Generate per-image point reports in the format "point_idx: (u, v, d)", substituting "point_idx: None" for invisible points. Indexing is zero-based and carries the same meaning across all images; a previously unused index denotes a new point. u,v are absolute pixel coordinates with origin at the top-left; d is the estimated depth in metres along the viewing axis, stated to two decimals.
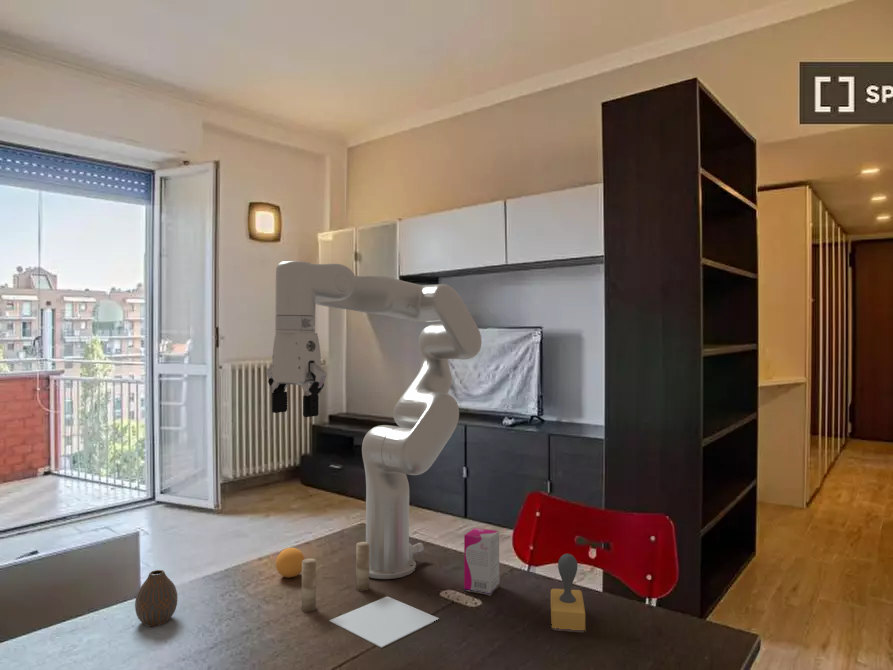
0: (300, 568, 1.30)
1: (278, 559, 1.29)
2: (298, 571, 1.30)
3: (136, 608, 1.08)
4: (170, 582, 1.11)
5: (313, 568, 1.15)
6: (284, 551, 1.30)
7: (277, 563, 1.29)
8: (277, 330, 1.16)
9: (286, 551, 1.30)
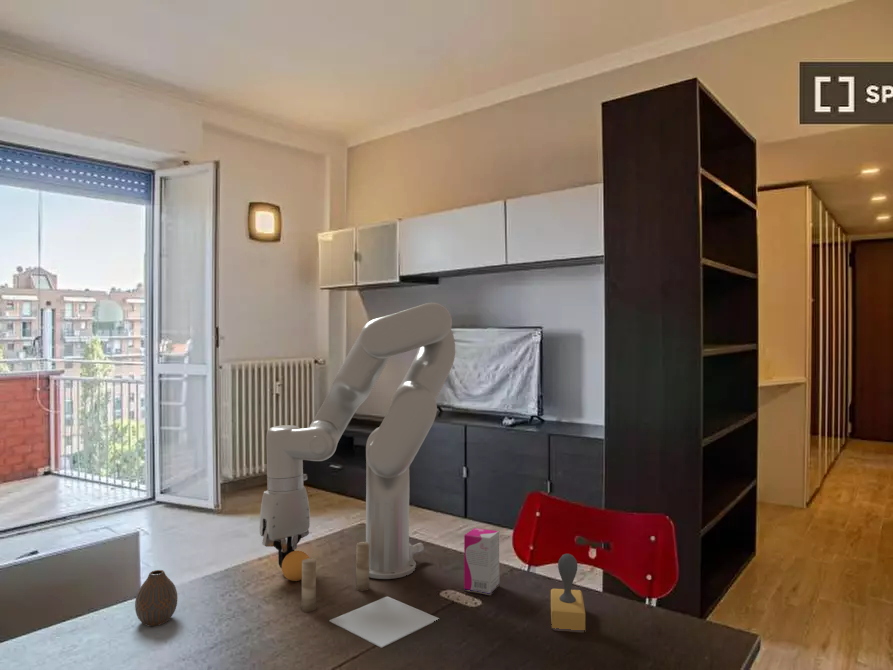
0: None
1: (286, 564, 1.27)
2: None
3: (136, 608, 1.08)
4: (170, 582, 1.11)
5: (313, 568, 1.15)
6: (294, 558, 1.27)
7: (284, 567, 1.27)
8: (291, 491, 1.30)
9: (295, 559, 1.27)
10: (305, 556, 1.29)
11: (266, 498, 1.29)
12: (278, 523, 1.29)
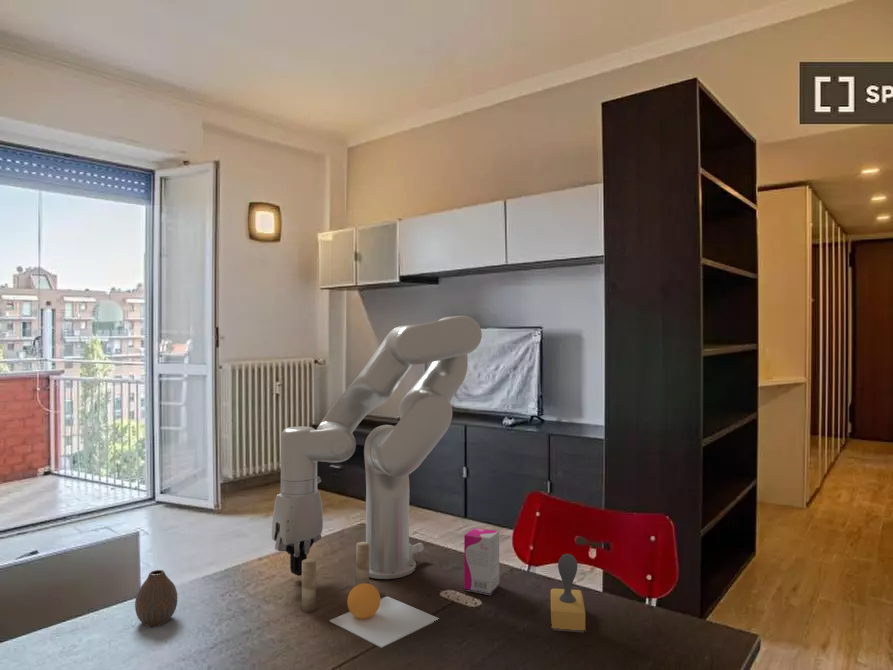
0: None
1: (355, 610, 1.10)
2: None
3: (136, 608, 1.08)
4: (170, 582, 1.11)
5: (313, 568, 1.15)
6: (364, 615, 1.10)
7: (351, 607, 1.10)
8: (306, 494, 1.26)
9: (364, 617, 1.10)
10: (375, 612, 1.11)
11: (280, 501, 1.26)
12: (292, 527, 1.25)
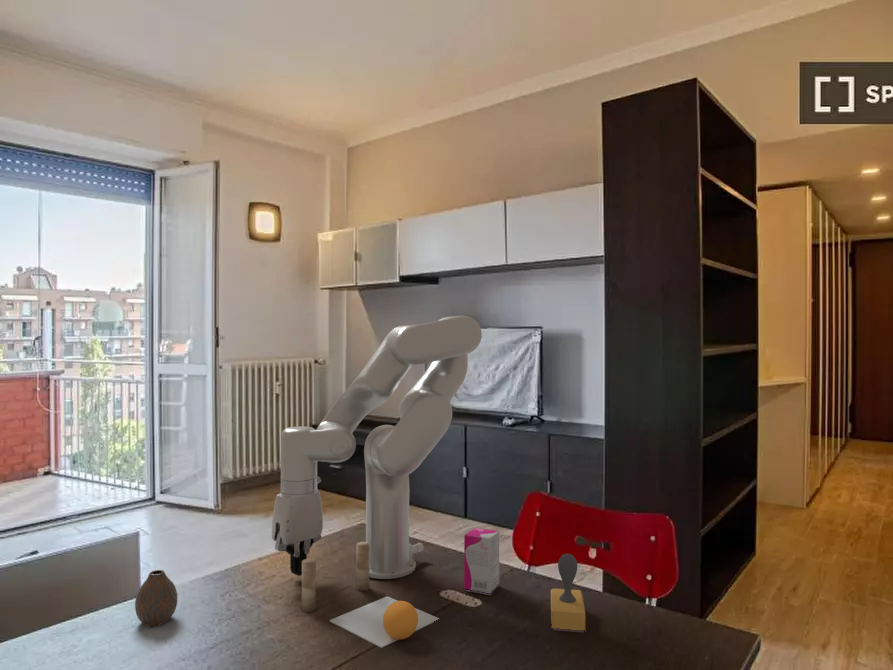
0: (414, 619, 1.03)
1: (385, 617, 1.03)
2: (413, 623, 1.03)
3: (136, 608, 1.08)
4: (170, 582, 1.11)
5: (313, 568, 1.15)
6: (389, 606, 1.05)
7: (385, 622, 1.03)
8: (306, 494, 1.26)
9: (391, 605, 1.05)
10: None
11: (280, 501, 1.26)
12: (292, 527, 1.25)
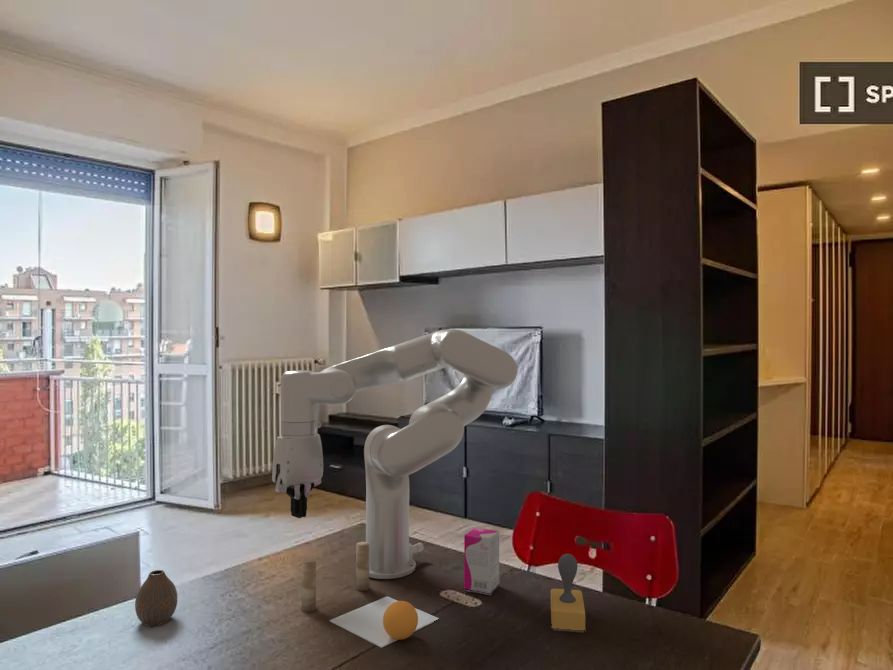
0: (414, 619, 1.03)
1: (385, 617, 1.03)
2: (413, 623, 1.03)
3: (136, 608, 1.08)
4: (170, 582, 1.11)
5: (313, 568, 1.15)
6: (389, 606, 1.05)
7: (385, 622, 1.03)
8: (307, 435, 1.26)
9: (391, 605, 1.05)
10: None
11: (280, 442, 1.26)
12: (292, 468, 1.25)
